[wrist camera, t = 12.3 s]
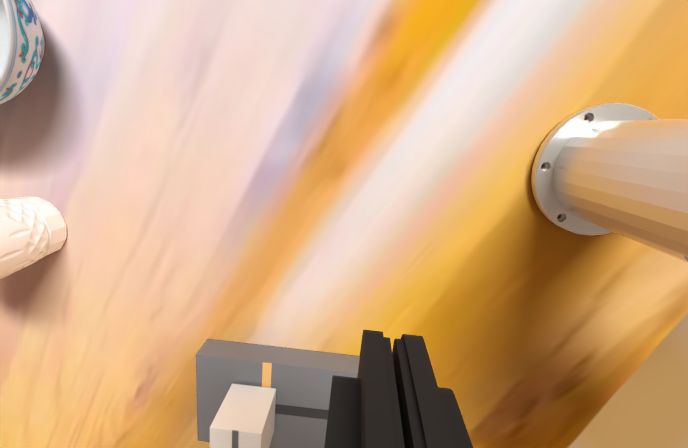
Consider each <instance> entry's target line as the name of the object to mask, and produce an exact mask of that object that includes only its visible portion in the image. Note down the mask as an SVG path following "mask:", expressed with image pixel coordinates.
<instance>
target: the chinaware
mask: <svg viewBox="0 0 688 448" xmlns="http://www.w3.org/2000/svg"><path fill="white" fill-rule="evenodd" d="M44 51H45V40H44V35H43V31H42V29H41V25H40V21H39V18H38V15H37V12H36V10H35V8H34V5H33V3H32V1H31V0H0V104H2V103H4V102H6V101H8V100H10V99H12V98H14V97H15V96H17V95H18V94H19V93H21V92H22V91H23V90H24V89H25V88H26V87H27V86H28V85H29V84H30V82H31V81H32V80H33V78H34V77H35V75H36V73H37V71H38V69H39V66H40V63H41V61H42V59H43V56H44Z"/></svg>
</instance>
